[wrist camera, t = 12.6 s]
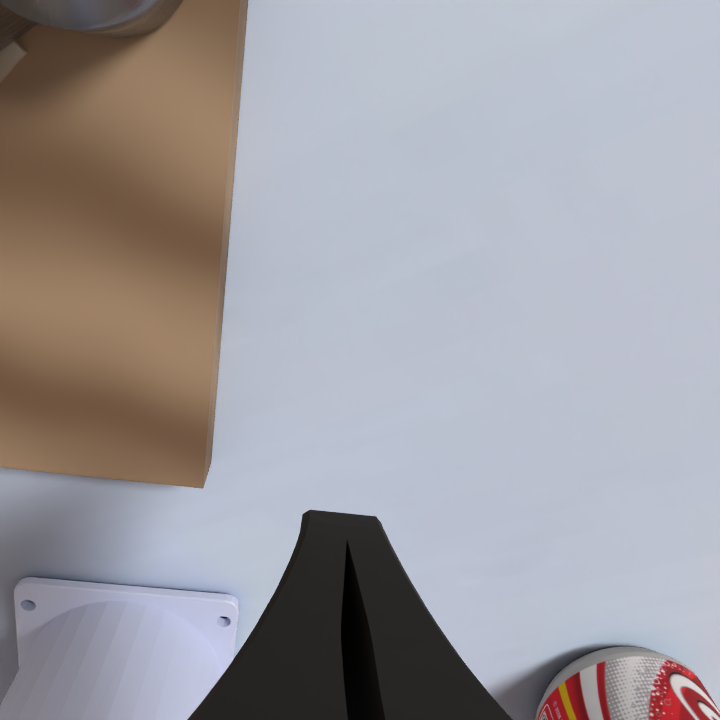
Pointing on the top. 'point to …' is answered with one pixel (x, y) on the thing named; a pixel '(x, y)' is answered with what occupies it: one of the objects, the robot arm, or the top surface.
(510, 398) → the top surface
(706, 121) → the top surface
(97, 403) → the walnut base
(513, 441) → the top surface
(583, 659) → the soda can
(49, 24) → the dark grey lever
